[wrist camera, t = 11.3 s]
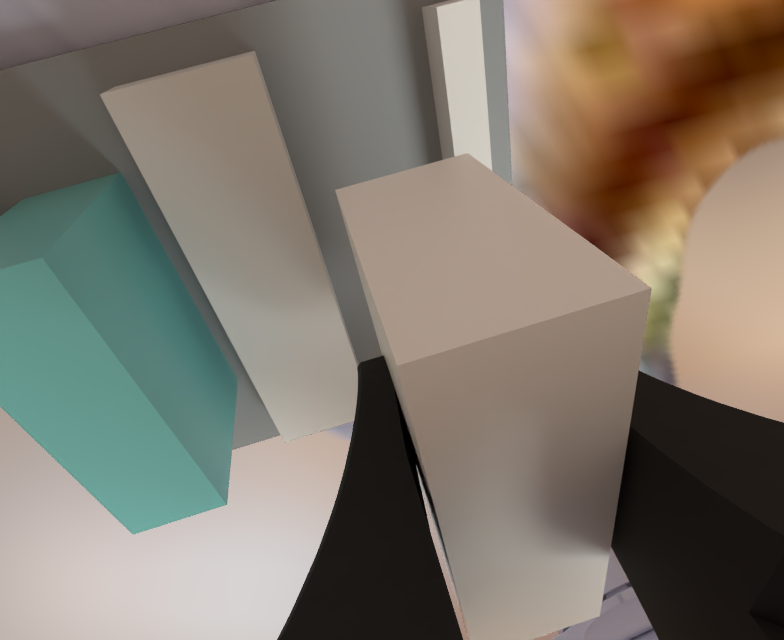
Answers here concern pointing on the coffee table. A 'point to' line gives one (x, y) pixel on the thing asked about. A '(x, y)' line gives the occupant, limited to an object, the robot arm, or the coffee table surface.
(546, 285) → the beige rectangular block
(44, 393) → the teal rectangular block
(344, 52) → the ribbed slotted plate
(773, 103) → the coffee table surface
